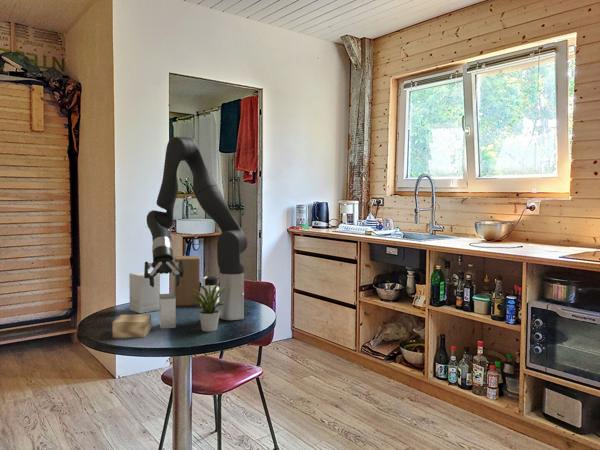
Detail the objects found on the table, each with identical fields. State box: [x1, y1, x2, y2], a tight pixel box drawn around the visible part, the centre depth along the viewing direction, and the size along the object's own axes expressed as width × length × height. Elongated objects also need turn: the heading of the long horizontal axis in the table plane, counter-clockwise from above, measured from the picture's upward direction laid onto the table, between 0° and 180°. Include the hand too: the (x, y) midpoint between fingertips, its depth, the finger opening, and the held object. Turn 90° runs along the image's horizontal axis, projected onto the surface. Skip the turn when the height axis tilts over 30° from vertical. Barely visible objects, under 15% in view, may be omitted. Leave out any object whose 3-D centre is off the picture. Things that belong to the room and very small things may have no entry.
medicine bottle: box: [199, 275, 219, 307], centre depth 200 cm, size 7×7×12 cm
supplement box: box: [128, 270, 161, 314], centre depth 188 cm, size 9×9×15 cm
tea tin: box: [158, 292, 177, 330], centre depth 165 cm, size 5×5×11 cm
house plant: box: [192, 283, 229, 332], centre depth 162 cm, size 14×14×16 cm
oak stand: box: [112, 313, 152, 339], centre depth 156 cm, size 10×10×5 cm
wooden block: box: [173, 255, 201, 307], centre depth 201 cm, size 10×10×20 cm
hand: (165, 285), depth 172 cm, fingers open, 8 cm apart
